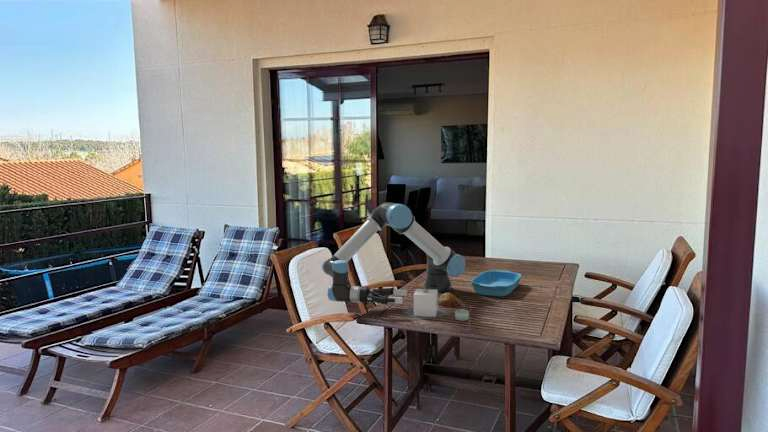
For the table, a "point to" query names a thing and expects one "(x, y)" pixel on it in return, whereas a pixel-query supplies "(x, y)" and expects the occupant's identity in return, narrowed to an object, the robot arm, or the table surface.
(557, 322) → the table surface
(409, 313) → the rubber mat
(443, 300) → the bread roll
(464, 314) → the bowl
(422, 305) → the box cover
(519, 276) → the casserole dish
